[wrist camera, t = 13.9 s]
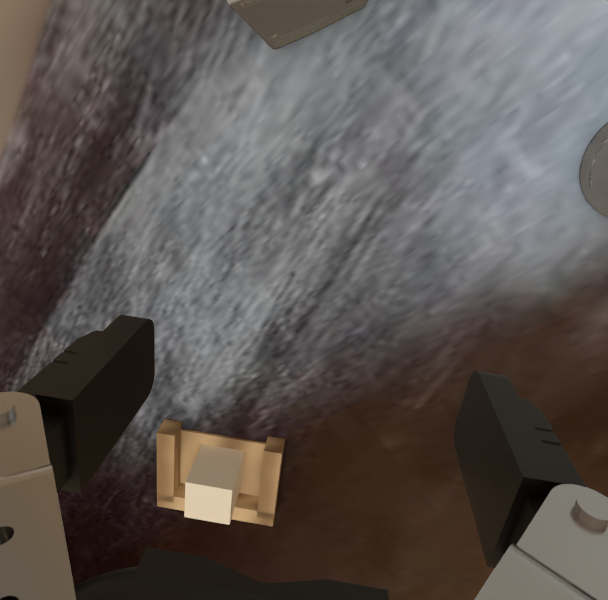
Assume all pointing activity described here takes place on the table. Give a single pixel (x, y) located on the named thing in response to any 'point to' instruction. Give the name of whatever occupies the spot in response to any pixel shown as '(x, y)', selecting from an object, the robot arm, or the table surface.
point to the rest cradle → (255, 480)
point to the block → (214, 484)
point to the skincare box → (292, 17)
